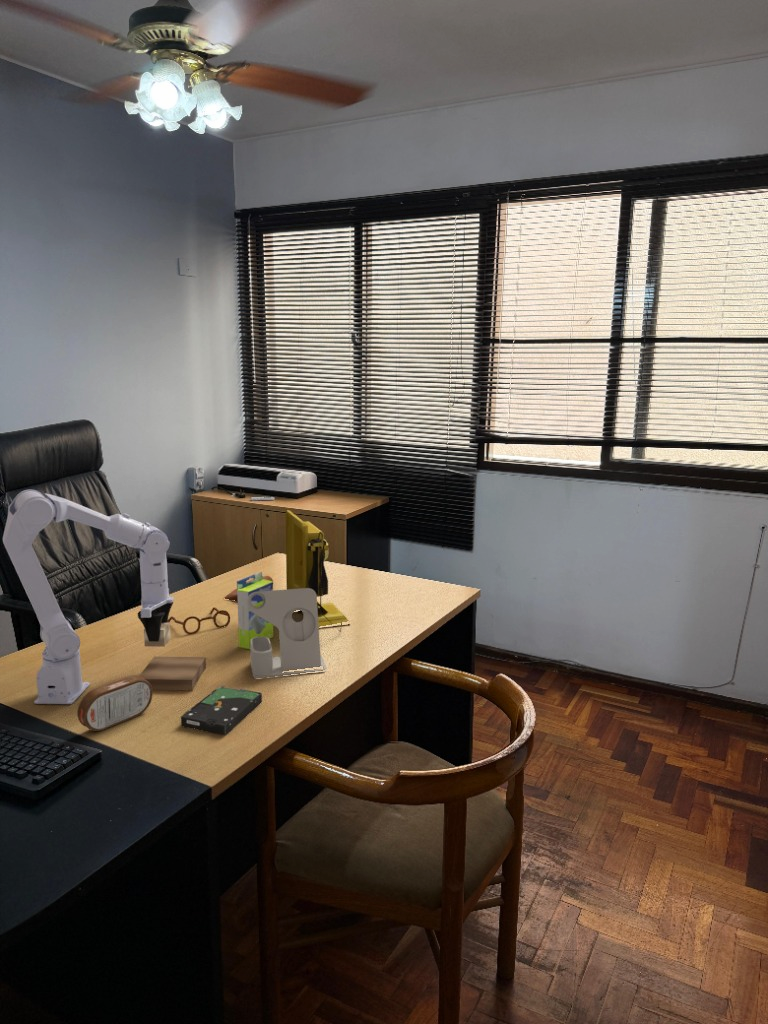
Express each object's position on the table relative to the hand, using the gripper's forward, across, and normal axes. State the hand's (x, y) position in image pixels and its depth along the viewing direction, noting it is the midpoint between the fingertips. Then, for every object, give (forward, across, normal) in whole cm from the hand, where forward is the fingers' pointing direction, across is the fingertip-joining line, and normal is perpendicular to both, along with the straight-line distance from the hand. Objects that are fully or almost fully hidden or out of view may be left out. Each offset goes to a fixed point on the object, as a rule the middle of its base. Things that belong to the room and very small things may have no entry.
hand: (157, 636), depth 161 cm
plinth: (+8, -4, -4) cm, 10 cm away
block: (+2, 0, 0) cm, 2 cm away
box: (+9, +18, -20) cm, 28 cm away
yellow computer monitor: (+9, +34, -35) cm, 49 cm away
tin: (+9, -24, +1) cm, 25 cm away
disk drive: (+9, -20, -19) cm, 29 cm away
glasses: (+9, +31, -2) cm, 32 cm away
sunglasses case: (+9, +57, -11) cm, 59 cm away
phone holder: (+9, +3, -29) cm, 31 cm away
